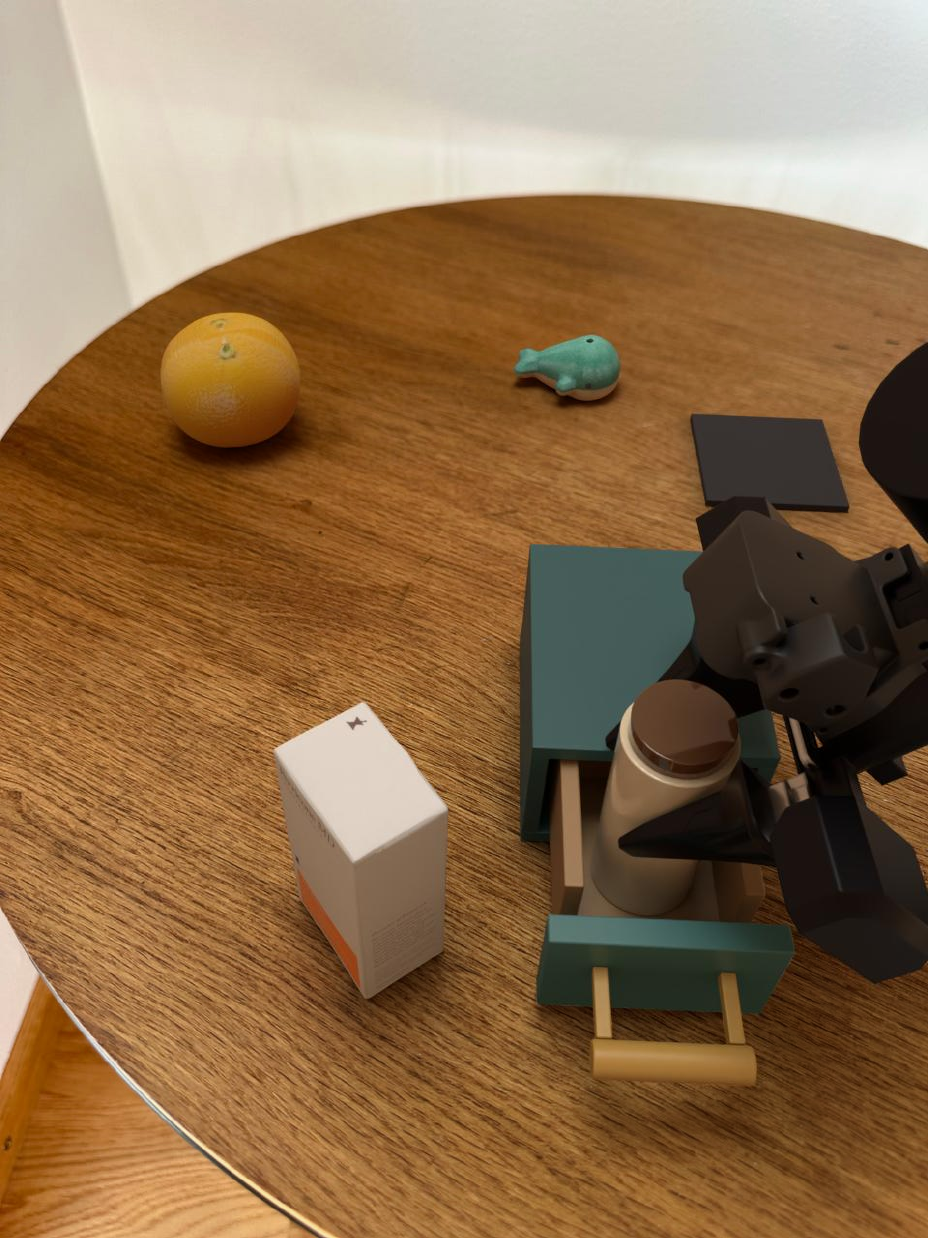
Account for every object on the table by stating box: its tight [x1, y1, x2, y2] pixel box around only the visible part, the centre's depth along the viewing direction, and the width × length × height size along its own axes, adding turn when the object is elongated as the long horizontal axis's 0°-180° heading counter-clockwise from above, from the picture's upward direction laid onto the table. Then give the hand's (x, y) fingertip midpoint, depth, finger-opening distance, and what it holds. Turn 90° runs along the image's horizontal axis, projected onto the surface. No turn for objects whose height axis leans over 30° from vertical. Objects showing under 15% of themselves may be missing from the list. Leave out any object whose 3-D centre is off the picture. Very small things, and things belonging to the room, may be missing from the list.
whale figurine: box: [513, 334, 621, 402], centre depth 75 cm, size 6×7×4 cm
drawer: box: [535, 759, 796, 1087], centre depth 45 cm, size 16×9×6 cm, turn 178°
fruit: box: [160, 312, 302, 448], centre depth 69 cm, size 9×8×8 cm
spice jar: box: [590, 680, 741, 915], centre depth 44 cm, size 5×5×11 cm
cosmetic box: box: [273, 701, 449, 1000], centre depth 44 cm, size 6×4×12 cm
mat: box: [689, 413, 850, 513], centre depth 71 cm, size 9×9×1 cm
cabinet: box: [519, 543, 782, 843], centre depth 53 cm, size 13×11×8 cm
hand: (617, 795), depth 44 cm, fingers closed on spice jar, 4 cm apart
